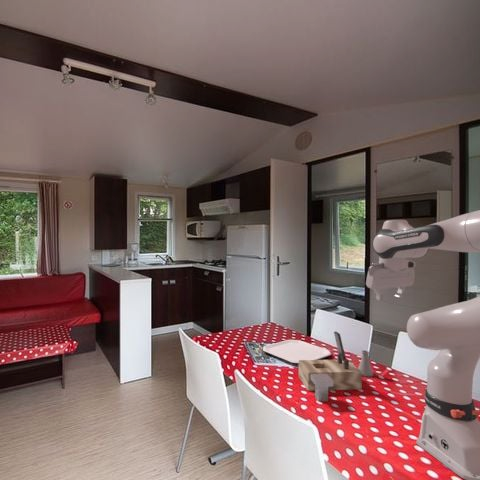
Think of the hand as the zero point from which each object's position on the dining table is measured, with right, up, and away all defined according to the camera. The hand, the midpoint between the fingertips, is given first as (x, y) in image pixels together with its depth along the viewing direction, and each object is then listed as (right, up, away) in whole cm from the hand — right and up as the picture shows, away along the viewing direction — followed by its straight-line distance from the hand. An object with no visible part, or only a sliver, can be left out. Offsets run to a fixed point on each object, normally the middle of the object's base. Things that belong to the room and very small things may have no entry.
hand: (388, 298), depth 119 cm
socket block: (-19, -37, +13) cm, 44 cm away
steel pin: (-26, -37, -1) cm, 45 cm away
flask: (0, -38, +23) cm, 44 cm away
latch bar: (-15, -23, +13) cm, 30 cm away
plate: (-27, -38, +46) cm, 65 cm away
